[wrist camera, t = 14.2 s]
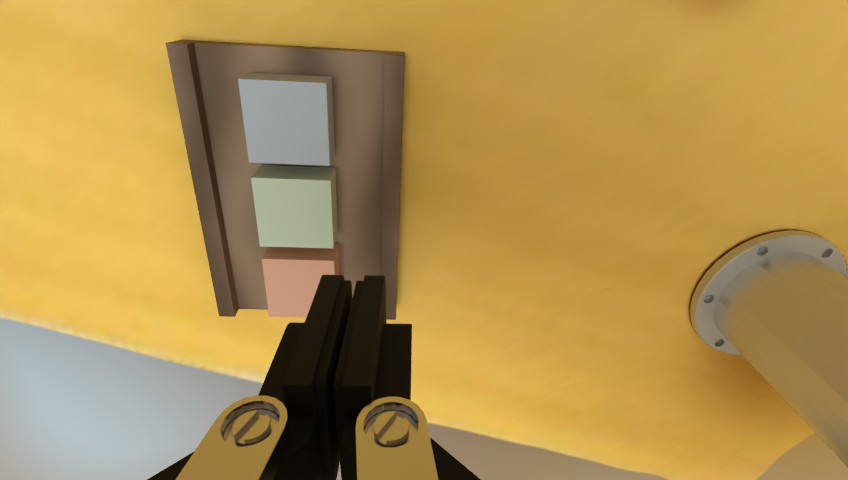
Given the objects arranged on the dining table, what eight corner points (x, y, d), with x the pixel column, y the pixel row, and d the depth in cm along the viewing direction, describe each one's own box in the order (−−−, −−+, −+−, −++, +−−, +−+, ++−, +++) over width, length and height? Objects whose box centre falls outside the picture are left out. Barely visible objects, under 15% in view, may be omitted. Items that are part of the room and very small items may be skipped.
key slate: (332, 76, 28) (326, 83, 26) (334, 153, 31) (329, 165, 29) (250, 72, 28) (238, 78, 26) (260, 150, 31) (248, 162, 28)
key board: (404, 52, 29) (404, 56, 27) (396, 303, 39) (395, 319, 37) (181, 39, 28) (165, 43, 27) (228, 299, 38) (219, 316, 36)
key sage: (335, 167, 31) (330, 180, 29) (337, 231, 34) (333, 248, 31) (261, 164, 31) (250, 177, 29) (269, 229, 33) (259, 246, 31)
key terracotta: (338, 243, 34) (333, 260, 32) (340, 298, 36) (336, 317, 34) (270, 241, 34) (261, 259, 32) (277, 296, 36) (269, 316, 34)
